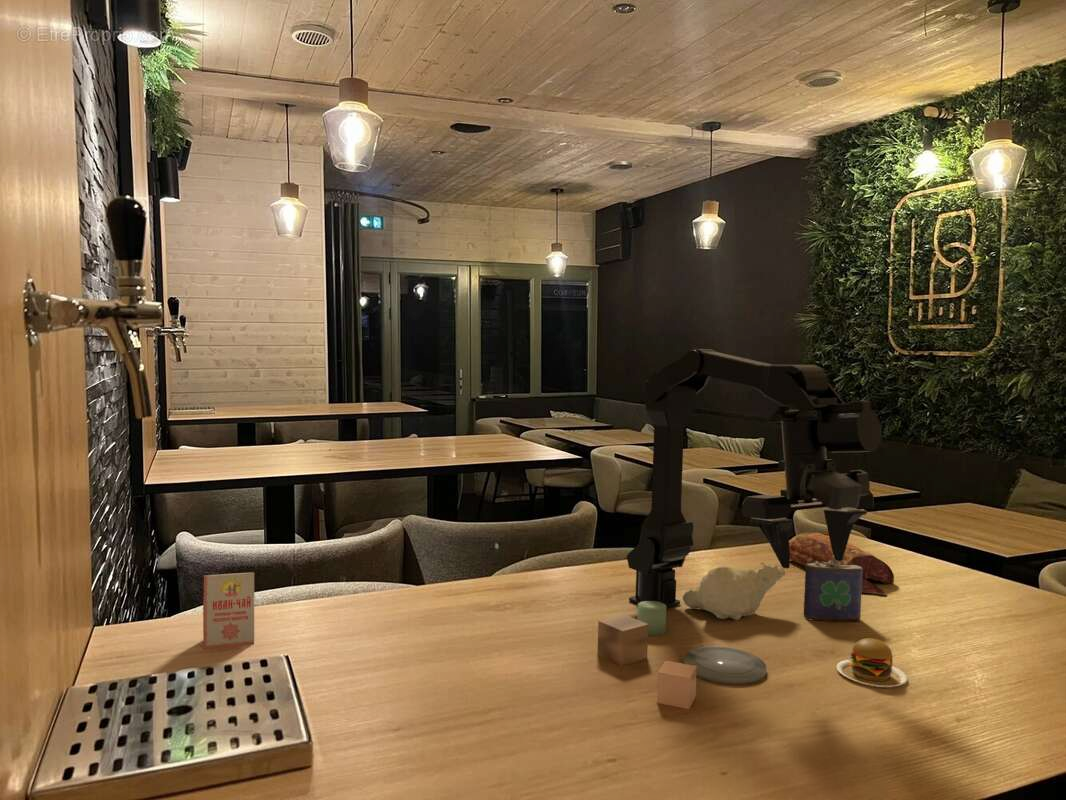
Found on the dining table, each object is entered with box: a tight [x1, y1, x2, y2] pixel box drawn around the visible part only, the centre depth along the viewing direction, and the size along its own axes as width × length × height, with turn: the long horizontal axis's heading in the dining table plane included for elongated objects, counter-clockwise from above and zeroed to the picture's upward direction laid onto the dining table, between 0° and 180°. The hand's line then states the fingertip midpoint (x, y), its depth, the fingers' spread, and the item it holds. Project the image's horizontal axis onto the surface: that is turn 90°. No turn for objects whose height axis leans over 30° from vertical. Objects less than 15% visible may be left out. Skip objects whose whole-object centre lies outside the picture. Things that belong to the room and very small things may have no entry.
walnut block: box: [596, 614, 649, 667], centre depth 113 cm, size 5×5×5 cm
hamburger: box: [836, 637, 908, 688], centre depth 108 cm, size 12×12×6 cm
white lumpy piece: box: [682, 562, 786, 621], centre depth 131 cm, size 15×7×15 cm
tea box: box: [202, 571, 255, 650], centre depth 115 cm, size 4×7×10 cm, turn 109°
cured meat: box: [789, 532, 895, 596], centre depth 155 cm, size 18×25×7 cm
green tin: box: [636, 601, 667, 636], centre depth 123 cm, size 4×4×4 cm
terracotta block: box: [656, 660, 697, 710], centre depth 99 cm, size 4×4×4 cm
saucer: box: [683, 646, 767, 685], centre depth 110 cm, size 11×11×1 cm
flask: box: [803, 555, 863, 622], centre depth 130 cm, size 9×3×11 cm, turn 88°
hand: (812, 564), depth 111 cm, fingers open, 9 cm apart
